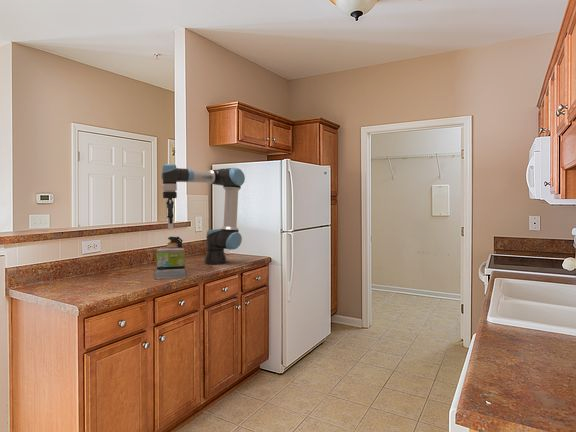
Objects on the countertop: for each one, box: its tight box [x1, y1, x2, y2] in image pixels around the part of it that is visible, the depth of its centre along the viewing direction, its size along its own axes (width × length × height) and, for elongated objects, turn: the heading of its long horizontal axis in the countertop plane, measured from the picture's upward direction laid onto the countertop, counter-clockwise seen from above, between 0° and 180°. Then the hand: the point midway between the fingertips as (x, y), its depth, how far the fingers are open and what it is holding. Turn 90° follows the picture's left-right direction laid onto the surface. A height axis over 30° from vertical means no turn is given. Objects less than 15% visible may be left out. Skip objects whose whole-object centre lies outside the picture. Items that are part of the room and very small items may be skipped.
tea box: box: [156, 247, 186, 273], centre depth 225 cm, size 15×10×15 cm
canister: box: [166, 236, 184, 248], centre depth 253 cm, size 9×11×20 cm
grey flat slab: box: [154, 267, 187, 280], centre depth 226 cm, size 16×15×4 cm
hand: (170, 228), depth 227 cm, fingers open, 13 cm apart
